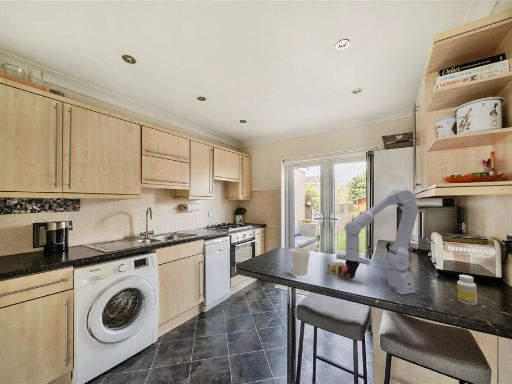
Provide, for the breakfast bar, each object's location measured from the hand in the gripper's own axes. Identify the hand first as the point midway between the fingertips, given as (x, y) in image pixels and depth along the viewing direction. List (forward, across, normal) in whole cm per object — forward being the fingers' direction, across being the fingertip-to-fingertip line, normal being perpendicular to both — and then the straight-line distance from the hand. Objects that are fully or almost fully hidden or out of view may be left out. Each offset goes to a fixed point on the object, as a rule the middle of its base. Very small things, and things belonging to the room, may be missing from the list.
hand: (352, 277), depth 101 cm
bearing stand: (+3, +8, -4) cm, 9 cm away
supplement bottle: (+3, -38, -14) cm, 41 cm away
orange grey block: (0, +6, -4) cm, 7 cm away
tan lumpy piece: (+2, +7, -4) cm, 9 cm away
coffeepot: (+3, -12, -33) cm, 36 cm away
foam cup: (+4, +24, +7) cm, 25 cm away
